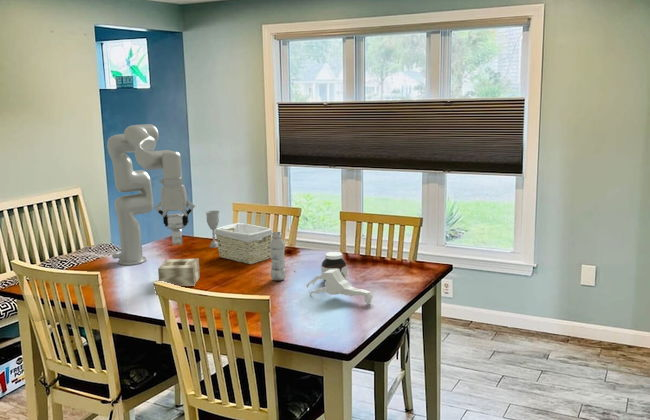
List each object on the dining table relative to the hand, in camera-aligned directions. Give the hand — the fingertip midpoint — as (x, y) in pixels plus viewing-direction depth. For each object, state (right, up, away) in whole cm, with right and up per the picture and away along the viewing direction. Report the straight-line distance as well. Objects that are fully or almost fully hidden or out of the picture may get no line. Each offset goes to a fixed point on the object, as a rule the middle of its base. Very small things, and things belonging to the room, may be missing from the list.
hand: (176, 225), depth 250 cm
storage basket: (+23, -17, +40) cm, 49 cm away
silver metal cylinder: (0, -8, +1) cm, 8 cm away
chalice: (+4, -13, +64) cm, 65 cm away
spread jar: (+65, -23, +2) cm, 69 cm away
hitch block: (+1, -24, +5) cm, 24 cm away
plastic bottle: (+42, -23, +4) cm, 48 cm away
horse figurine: (+66, -27, -21) cm, 75 cm away
